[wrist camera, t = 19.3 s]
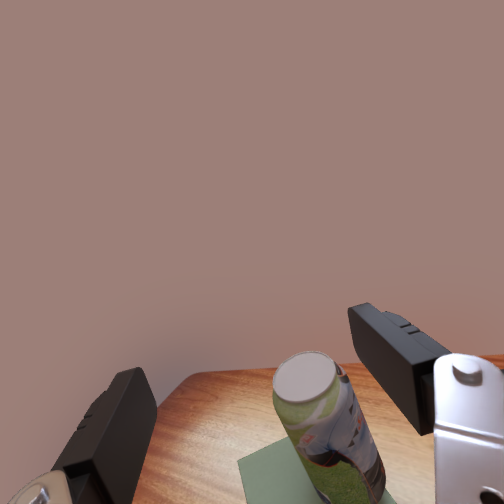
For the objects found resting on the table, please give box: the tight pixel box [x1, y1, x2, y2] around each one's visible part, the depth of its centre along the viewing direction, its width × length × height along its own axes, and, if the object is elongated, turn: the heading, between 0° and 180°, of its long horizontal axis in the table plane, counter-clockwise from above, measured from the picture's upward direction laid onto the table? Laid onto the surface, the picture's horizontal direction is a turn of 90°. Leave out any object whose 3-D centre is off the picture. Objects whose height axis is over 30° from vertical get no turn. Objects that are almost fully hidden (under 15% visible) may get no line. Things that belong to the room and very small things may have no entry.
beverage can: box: [273, 351, 386, 504], centre depth 22 cm, size 6×7×12 cm
